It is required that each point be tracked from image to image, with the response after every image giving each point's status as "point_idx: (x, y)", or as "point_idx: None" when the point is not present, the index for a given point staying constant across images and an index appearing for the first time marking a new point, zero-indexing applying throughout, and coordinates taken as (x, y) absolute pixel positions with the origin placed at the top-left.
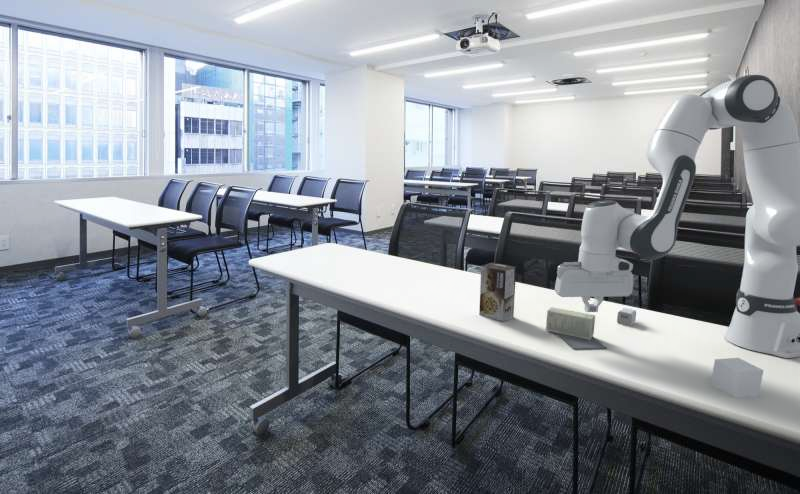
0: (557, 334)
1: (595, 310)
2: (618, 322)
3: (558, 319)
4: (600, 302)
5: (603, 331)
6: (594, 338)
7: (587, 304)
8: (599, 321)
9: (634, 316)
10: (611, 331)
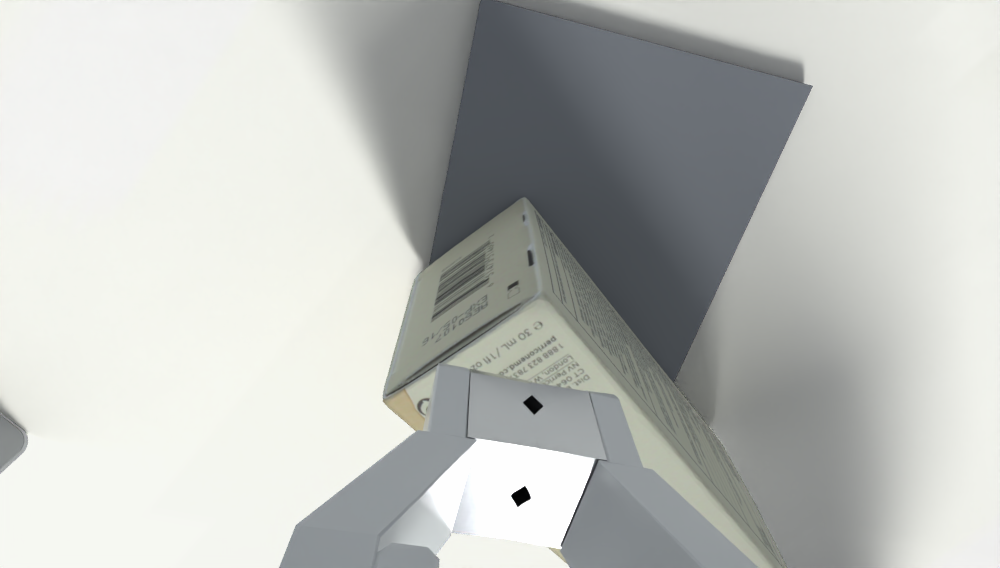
0: (670, 378)
1: (484, 380)
2: (17, 438)
3: (722, 476)
4: (377, 488)
5: (248, 340)
6: (449, 221)
7: (679, 499)
8: (166, 491)
9: None
10: (175, 324)
